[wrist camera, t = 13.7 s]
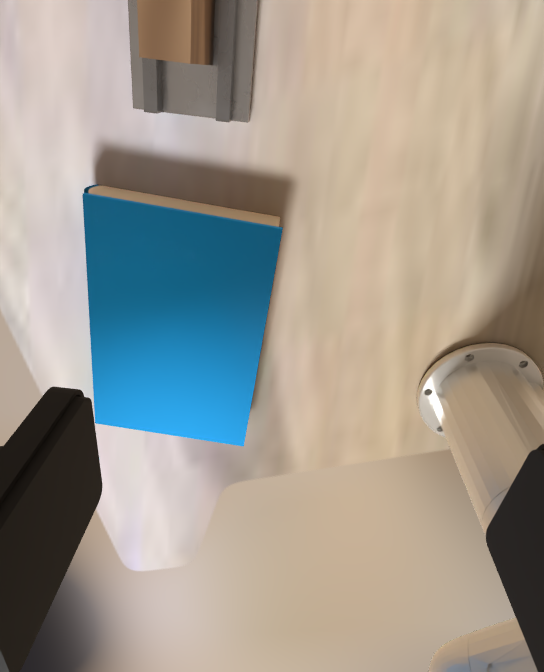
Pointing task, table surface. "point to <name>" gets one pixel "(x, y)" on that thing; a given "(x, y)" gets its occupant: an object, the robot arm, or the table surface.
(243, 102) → the floor track
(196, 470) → the table surface
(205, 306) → the book
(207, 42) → the door panel
